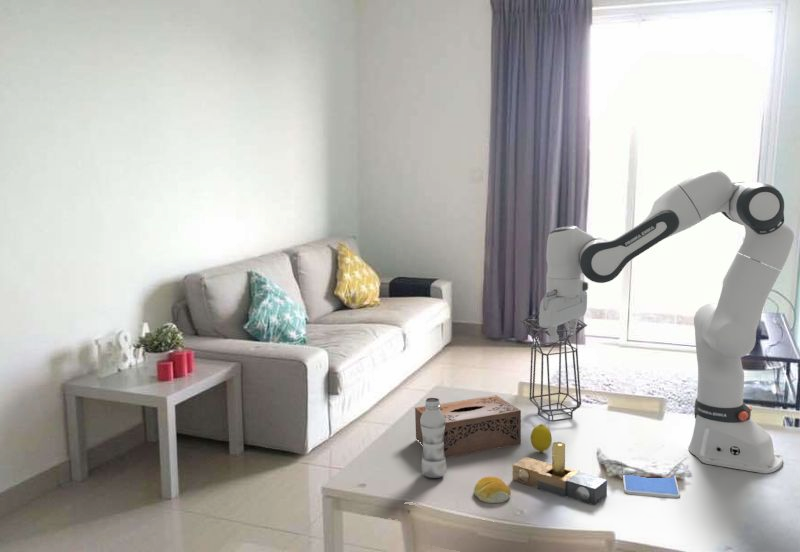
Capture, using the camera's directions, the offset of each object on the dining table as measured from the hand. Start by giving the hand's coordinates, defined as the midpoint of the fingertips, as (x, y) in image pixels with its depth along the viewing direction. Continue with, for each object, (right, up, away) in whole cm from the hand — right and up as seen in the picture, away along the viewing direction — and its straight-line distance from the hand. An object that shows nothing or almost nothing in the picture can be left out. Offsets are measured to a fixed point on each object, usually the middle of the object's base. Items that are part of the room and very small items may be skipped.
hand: (563, 337), depth 196 cm
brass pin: (-6, -35, -19) cm, 40 cm away
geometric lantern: (+3, -27, +28) cm, 39 cm away
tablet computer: (+18, -34, -16) cm, 42 cm away
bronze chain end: (-8, -34, -17) cm, 39 cm away
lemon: (-6, -31, +1) cm, 32 cm away
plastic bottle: (-35, -34, -11) cm, 50 cm away
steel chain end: (-3, -35, -22) cm, 41 cm away
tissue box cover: (-25, -31, +10) cm, 41 cm away
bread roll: (-22, -36, -22) cm, 48 cm away
